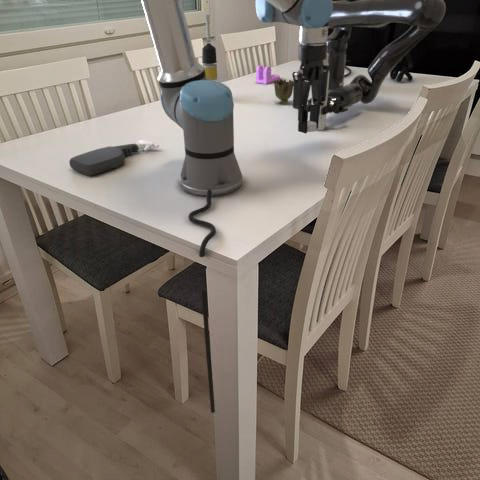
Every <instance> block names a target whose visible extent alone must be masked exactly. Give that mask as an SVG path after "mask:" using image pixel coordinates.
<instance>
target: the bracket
mask: <svg viewBox="0 0 480 480" xmlns="http://www.w3.org/2000/svg"><path fill="white" fill-rule="evenodd" d="M280 79H281V75H279V74H272V67H271V66H265V67H264V66H263V65H257V66H256V67H255V83H258V84H262V85H263V84H264V85H267V84H271V83H274V81H276V82H277V80H278V81H279V80H280Z"/></svg>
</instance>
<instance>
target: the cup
mask: <svg viewBox="0 0 480 480" xmlns="http://www.w3.org/2000/svg"><path fill="white" fill-rule="evenodd" d="M293 84H294V81H293V79H288V81H287V79H282V78H280V79H279V80H276V81H274V82H273V86H274V94H275V97H276V98H277V99H278V103H279V104H280V105H281V104H283V105H284V104H288V102H289V99H290V98H291V97H292V96H293Z"/></svg>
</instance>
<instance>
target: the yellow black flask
mask: <svg viewBox="0 0 480 480" xmlns="http://www.w3.org/2000/svg"><path fill="white" fill-rule="evenodd" d="M210 17H211V14H204V18H205V27H206V29H205V30H206V31H205V33H206V39H207V40H206V42H207V43H206V45H204V46H202V49H201V50H202V51H201V52H202V54H201V55H202V57H201V58H202V61H201V63H202V66H203V67H204V70H205V74H206V78H207V80H210V81H214V82H216V80H218V64H216V63H218V61H217V48H216V47H215V46H214V45H212V43H210V42H211V40H210V39H211V31H210V29H211V28H210Z"/></svg>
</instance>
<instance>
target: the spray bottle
mask: <svg viewBox="0 0 480 480" xmlns="http://www.w3.org/2000/svg"><path fill="white" fill-rule="evenodd" d="M159 148H160V145H159V144H158V143H155V142H151V141H148V140H144V139H139V140H138V141H137V142H135V143H129V144H128V143H126V144H122V145H113V146H105V147H100V148H97V149H94V150H90V151H87V152H83V153H81V154H78V155H74V156H73V157H70V159H69V161H68V162H69V167H70V168H71V169H72V170H74V171H75V172H78V173H81V174H83V175H85V176H89V177H90V176H91V177H92V176H95V175H99V174H102V173H105V172H107V171H110V170H113V169H116V168H118V167H120V166H122V165H123V164H124V163H125V158H126V156H127V155H131V154H133V153H138V151H140V150H143V151H144V152H146V151H147V150H149V149H159Z"/></svg>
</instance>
